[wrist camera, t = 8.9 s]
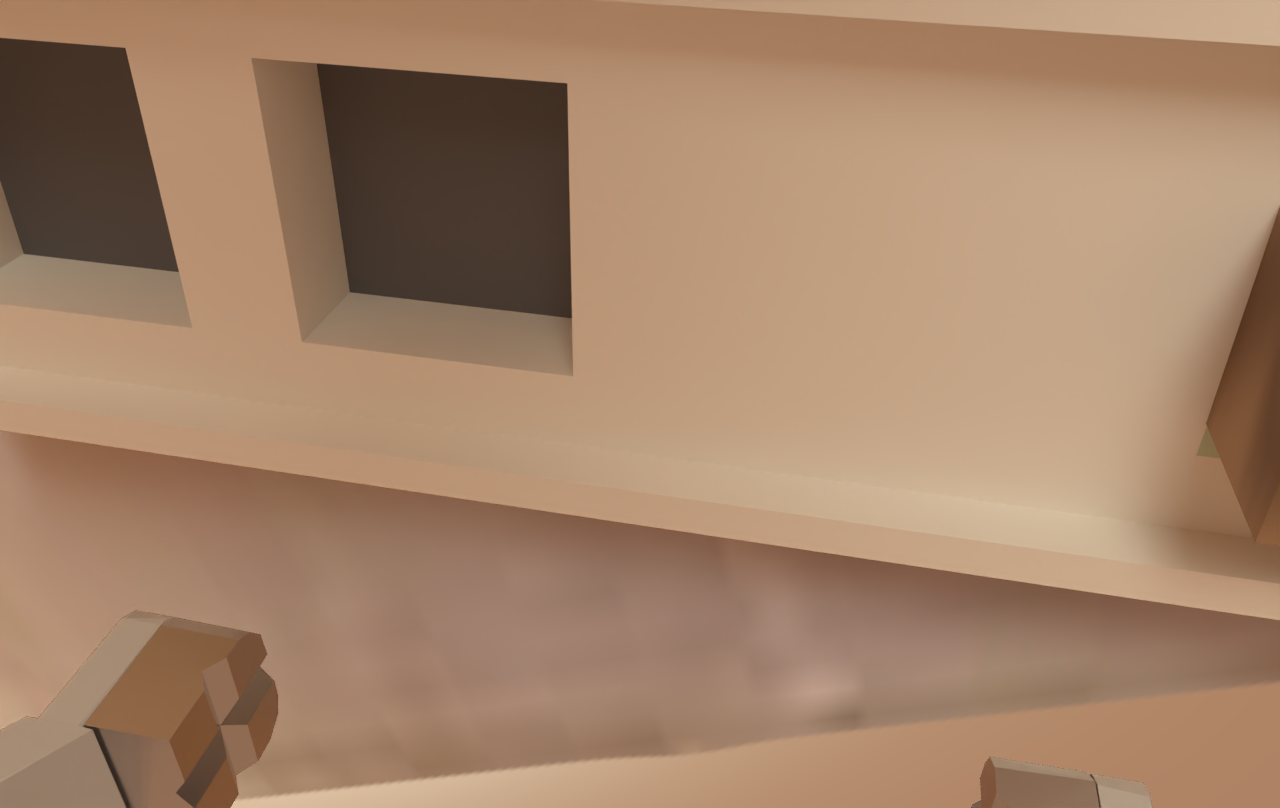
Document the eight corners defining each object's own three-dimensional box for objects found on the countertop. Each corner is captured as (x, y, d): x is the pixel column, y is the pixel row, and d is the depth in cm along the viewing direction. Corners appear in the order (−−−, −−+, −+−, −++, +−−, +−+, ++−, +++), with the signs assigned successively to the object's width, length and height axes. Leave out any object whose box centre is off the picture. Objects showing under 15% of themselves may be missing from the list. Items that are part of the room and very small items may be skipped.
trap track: (-167, -139, 26) (-448, -99, 21) (1742, -42, 19) (2061, 54, 14) (-1, 333, 33) (-178, 454, 28) (1436, 523, 26) (1570, 730, 21)
